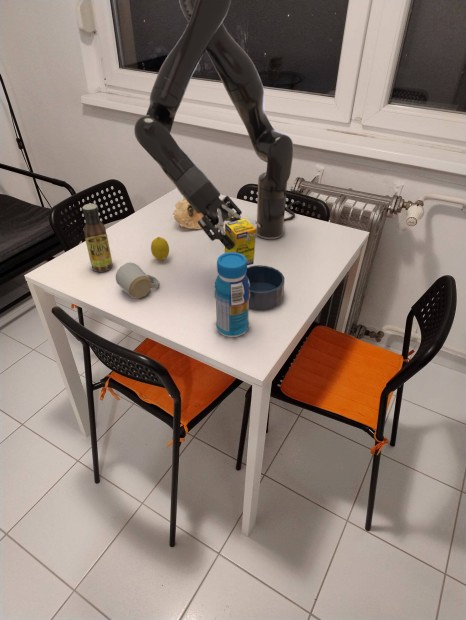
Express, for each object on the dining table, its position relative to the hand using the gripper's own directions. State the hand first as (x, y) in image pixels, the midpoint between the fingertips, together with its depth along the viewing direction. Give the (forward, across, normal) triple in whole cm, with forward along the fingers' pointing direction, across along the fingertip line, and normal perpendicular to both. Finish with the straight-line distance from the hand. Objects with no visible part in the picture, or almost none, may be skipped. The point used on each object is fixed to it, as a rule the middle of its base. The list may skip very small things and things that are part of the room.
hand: (239, 240), depth 102 cm
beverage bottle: (+15, -14, +8) cm, 22 cm away
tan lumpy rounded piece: (-11, +33, +35) cm, 49 cm away
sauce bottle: (-18, -6, +42) cm, 46 cm away
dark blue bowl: (+16, 0, +7) cm, 17 cm away
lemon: (-9, +5, +32) cm, 34 cm away
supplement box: (+5, 0, +5) cm, 7 cm away
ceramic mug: (-6, -11, +30) cm, 33 cm away
